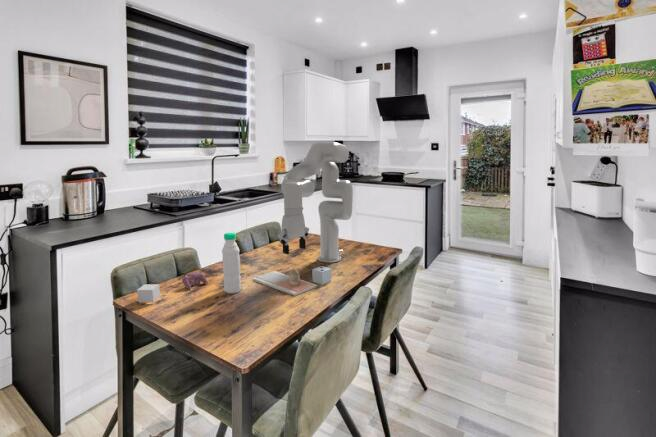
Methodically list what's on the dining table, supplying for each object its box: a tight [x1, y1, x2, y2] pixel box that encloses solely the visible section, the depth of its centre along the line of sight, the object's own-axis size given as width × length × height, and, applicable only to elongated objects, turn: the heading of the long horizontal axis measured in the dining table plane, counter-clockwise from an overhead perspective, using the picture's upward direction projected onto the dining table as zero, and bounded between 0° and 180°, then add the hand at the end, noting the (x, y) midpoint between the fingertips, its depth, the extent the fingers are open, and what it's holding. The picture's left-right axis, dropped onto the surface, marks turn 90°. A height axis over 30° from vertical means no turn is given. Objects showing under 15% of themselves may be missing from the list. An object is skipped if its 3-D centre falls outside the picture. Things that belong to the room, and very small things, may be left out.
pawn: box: [288, 268, 301, 286], centre depth 167 cm, size 4×4×7 cm
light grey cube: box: [136, 283, 161, 302], centre depth 153 cm, size 6×6×6 cm
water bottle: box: [221, 232, 242, 294], centre depth 162 cm, size 7×7×25 cm
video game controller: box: [181, 271, 208, 290], centre depth 170 cm, size 10×5×7 cm, turn 142°
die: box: [311, 265, 332, 286], centre depth 174 cm, size 6×6×6 cm
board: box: [252, 270, 318, 297], centre depth 172 cm, size 13×28×1 cm, turn 48°
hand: (294, 250), depth 165 cm, fingers open, 9 cm apart
